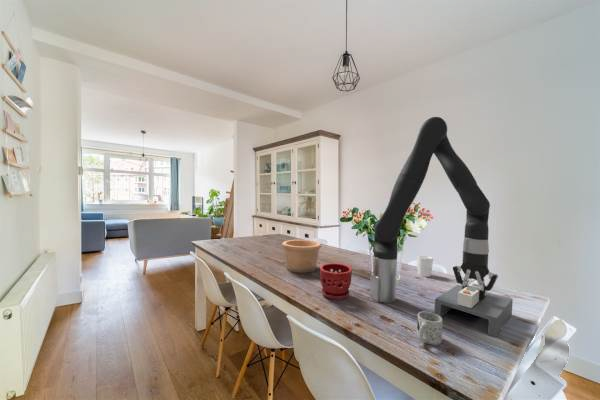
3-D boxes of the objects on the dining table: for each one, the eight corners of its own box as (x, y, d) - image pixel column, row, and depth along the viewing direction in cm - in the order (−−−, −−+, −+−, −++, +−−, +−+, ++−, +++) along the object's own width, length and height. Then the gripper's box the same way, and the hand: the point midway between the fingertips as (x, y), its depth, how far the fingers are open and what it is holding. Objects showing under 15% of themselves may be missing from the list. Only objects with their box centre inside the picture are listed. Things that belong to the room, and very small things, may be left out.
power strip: (470, 316, 85) (471, 294, 84) (457, 312, 88) (458, 291, 87) (486, 301, 98) (487, 282, 98) (474, 297, 101) (475, 279, 101)
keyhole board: (495, 337, 79) (496, 318, 79) (434, 315, 92) (434, 298, 92) (511, 314, 95) (512, 298, 95) (457, 298, 108) (457, 284, 108)
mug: (422, 330, 82) (422, 309, 82) (444, 339, 77) (445, 317, 77) (408, 341, 75) (409, 319, 75) (432, 352, 70) (433, 328, 70)
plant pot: (315, 290, 113) (316, 263, 112) (343, 289, 115) (344, 262, 115) (324, 303, 100) (325, 272, 100) (356, 301, 103) (357, 271, 102)
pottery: (321, 275, 134) (322, 247, 134) (279, 273, 135) (280, 246, 134) (319, 263, 156) (320, 240, 156) (283, 262, 156) (283, 239, 156)
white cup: (413, 272, 144) (414, 255, 143) (426, 272, 144) (427, 255, 144) (421, 277, 136) (422, 258, 135) (435, 277, 136) (436, 258, 136)
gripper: (449, 248, 95) (447, 294, 95) (497, 256, 84) (494, 308, 85) (456, 246, 100) (454, 290, 100) (502, 253, 89) (500, 302, 90)
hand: (473, 298), depth 93 cm, fingers closed on power strip, 4 cm apart
